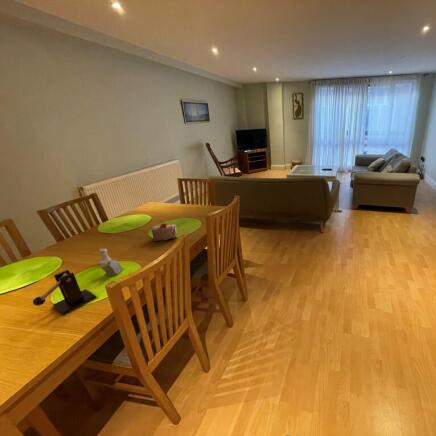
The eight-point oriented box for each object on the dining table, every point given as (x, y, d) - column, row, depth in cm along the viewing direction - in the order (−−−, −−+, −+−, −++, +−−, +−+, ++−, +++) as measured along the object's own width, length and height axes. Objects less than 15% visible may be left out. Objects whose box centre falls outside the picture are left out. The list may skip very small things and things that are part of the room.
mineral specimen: (100, 272, 116) (100, 257, 115) (122, 270, 121) (122, 255, 119) (98, 279, 110) (97, 264, 108) (120, 277, 115) (120, 262, 113)
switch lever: (40, 308, 87) (32, 304, 85) (37, 305, 89) (28, 301, 87) (74, 278, 95) (67, 274, 92) (70, 275, 96) (63, 271, 94)
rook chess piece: (101, 265, 123) (96, 252, 120) (102, 261, 126) (97, 248, 123) (111, 263, 125) (107, 249, 122) (112, 259, 129) (108, 246, 126)
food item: (178, 234, 157) (175, 220, 153) (177, 239, 150) (174, 225, 146) (155, 237, 153) (152, 223, 149) (153, 242, 146) (149, 228, 142)
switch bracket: (63, 315, 92) (50, 285, 86) (53, 306, 96) (40, 278, 90) (96, 297, 100) (86, 270, 95) (86, 291, 105) (75, 264, 99)
